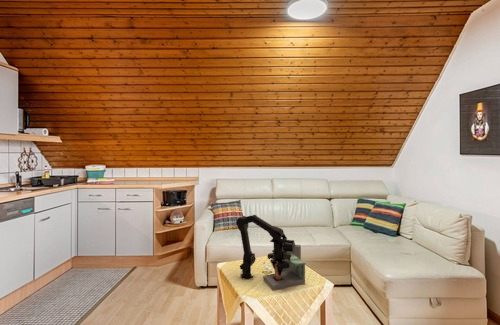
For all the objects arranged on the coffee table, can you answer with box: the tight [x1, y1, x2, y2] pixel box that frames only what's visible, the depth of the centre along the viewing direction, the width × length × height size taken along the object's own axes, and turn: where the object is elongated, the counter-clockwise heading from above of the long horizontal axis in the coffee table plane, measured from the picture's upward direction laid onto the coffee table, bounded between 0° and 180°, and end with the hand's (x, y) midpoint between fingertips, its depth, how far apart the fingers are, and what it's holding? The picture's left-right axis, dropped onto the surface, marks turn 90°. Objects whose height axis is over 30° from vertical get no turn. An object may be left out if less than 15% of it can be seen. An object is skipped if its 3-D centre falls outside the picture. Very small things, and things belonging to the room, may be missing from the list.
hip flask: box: [282, 244, 302, 272], centre depth 193 cm, size 16×4×20 cm, turn 105°
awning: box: [284, 254, 306, 280], centre depth 180 cm, size 15×7×10 cm, turn 22°
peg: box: [274, 263, 281, 281], centre depth 176 cm, size 4×4×10 cm
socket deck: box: [262, 270, 306, 292], centre depth 178 cm, size 14×22×3 cm, turn 112°
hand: (278, 273), depth 176 cm, fingers closed on peg, 4 cm apart
